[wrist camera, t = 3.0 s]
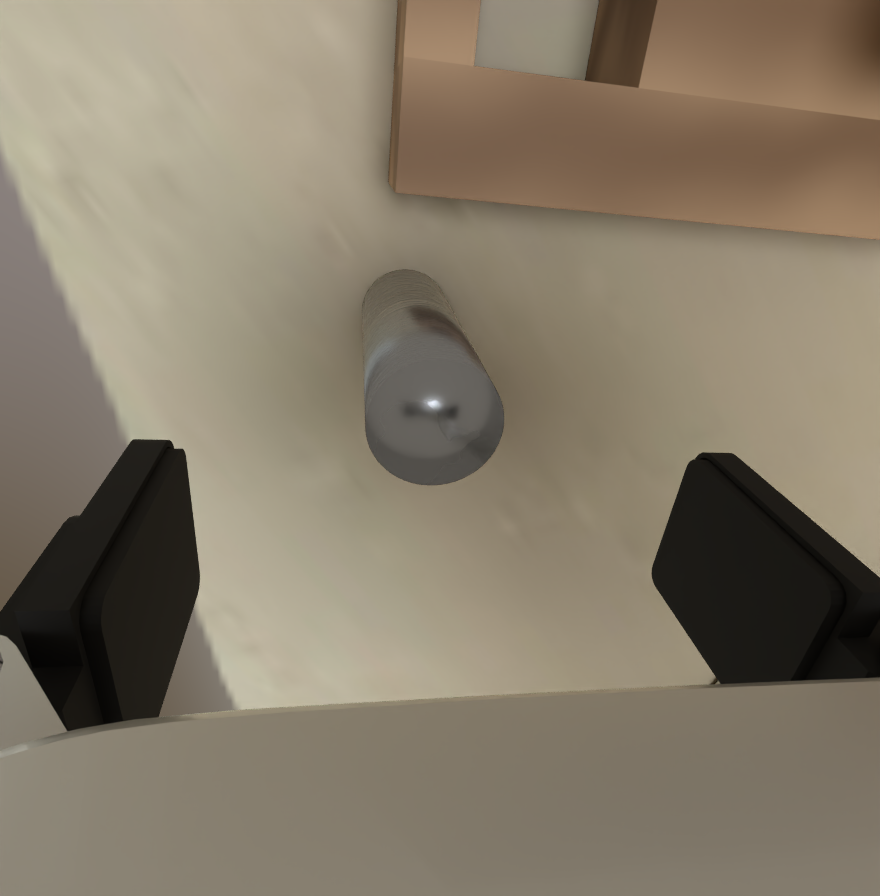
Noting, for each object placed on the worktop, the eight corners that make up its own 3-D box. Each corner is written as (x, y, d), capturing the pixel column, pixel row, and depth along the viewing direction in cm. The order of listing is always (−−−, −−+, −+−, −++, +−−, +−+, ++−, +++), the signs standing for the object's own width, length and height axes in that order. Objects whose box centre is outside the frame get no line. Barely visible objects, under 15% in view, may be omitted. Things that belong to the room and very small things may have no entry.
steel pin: (442, 356, 26) (493, 486, 16) (360, 351, 25) (362, 483, 16) (451, 273, 24) (514, 362, 15) (364, 266, 24) (368, 355, 14)
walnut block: (890, 231, 26) (999, 251, 21) (388, 181, 22) (395, 192, 18) (1045, -134, 20) (1235, -210, 16) (412, -275, 17) (431, -420, 12)
